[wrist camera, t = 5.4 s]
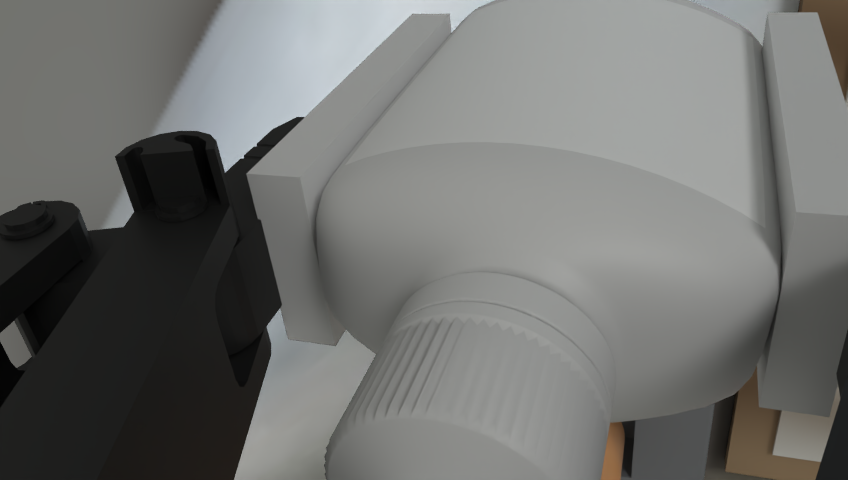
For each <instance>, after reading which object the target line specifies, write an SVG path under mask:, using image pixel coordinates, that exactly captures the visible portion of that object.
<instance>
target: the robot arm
mask: <svg viewBox="0 0 848 480" xmlns="http://www.w3.org/2000/svg"><path fill="white" fill-rule="evenodd" d="M450 35H451V24H450V14H412V15H411V16H410V17H409V18H408V19H407V20H406V21H405V22H403V23H402V24H401V25H400V26H399V27H398V28H397V29H396V30H395V31H394V32H393V33H392V34H391V35H390V36H389V37H388V38H387V39H386V40H385V41H384V42H383V43H382V44H381V45H380V46H379V47H377V48H376V49H375V50H374V51H373V52H372V53H371V54H370V55H369V56H368V57H367V58H366V59H365V60H364V61H363V62H362V63H361V64H360V65H359V66H358V67H357V68H356V69H355V70H354V71H353V72H351V73H350V74H349V75H348V76H347V77H346V78H345V79H344V80H343V81H342V82H341V83H340V84H339V85H338V86H337V87H336V88H335V89H334V90H333V91H332V92H331V93H330V94H329V95H328V96H327V97H326V98H324V99H323V100H322V101H321V102H320V103H319V104H318V105H317V106H316V107H315V108H314V109H313V110H312V111H311V112H310V113H309V114H308V115H307V116H306V117H296V118H294V119H292V120H290V121H288V122H286V123H284V124H282V125H280V126H278V127H276V128H274V129H272V130H271V131H270V132H269V133H268V134H267V135H266V136H265V137H264V138H263V139H262V140H261V141H259V142H258V143H257V147H253V148H252V149H251V150H250V151H249V152H247V153H246V154H245V155H244V159H240V160H239V161H238V162H237V163H236V164H234V165H233V166H232V167H231V168H230V169H229V170H228V171H227V172H226V173H225V172H224V168H223V164H222V161H221V157H220V153H219V149H218V146H217V142H216V140H215V139H214V138H213V137H212V136H211V135H210V134H206V133H202V132H199V131H177V132H171V133H164V134H159V135H156V136H153V137H150V138H146V139H143V140H141V141H139V142H136V143H135V144H132V145H130V146H128V147H126V148H125V149H124V150H122V151H121V152H120V153H119V154H118V155H116V156H115V158H116V161H117V164H118V167H119V170H120V172H121V175H122V178H123V181H124V184H125V187H126V189H127V192H128V195H129V198H130V201H131V204H132V206H133V209H134V213H133V214H132V216H131V217H130V219H129V220H128V222H127V223H126V225H125V226H124V227H121V228H111V229H102V230H92V231H88V230H87V228H86V225H85V223H84V220H83V218H82V215H81V213H80V210H79V209H78V208H77V207H76V206H75V205H74V204H73V203H68V202H64V201H36V202H33V204H31V203H27V204H23V205H20V206H18V207H17V208H16V209H15V210H12V211H9V212H7V213H5V214H3V215H1V216H0V332H2V331H3V330H4V329H5V328H6V327H7V326H8V325H10V324H11V323H12V322H13V321H15V323H16V325H17V327H18V329H19V331H20V333H21V335H22V337H23V339H24V341H25V343H26V345H27V347H28V349H29V351H30V353H31V355H32V357H31V358H30V359H29V360H28V361H27V362H26V363H25V364H23V365H21V366H20V367H18V368H16V367H15V366H14V365H13V364H12V363H11V362H10V360H9V358H8V356H7V354H6V352H5V350H4V348H3V346H2V344H1V342H0V480H234V477H235V474H236V471H237V467H238V464H239V461H240V457H241V454H242V450H243V447H244V444H245V440H246V437H247V434H248V430H249V427H250V424H251V420H252V417H253V414H254V410H255V407H256V404H257V400H258V397H259V393H260V390H261V387H262V383H263V380H264V377H265V373H266V370H267V367H268V363H269V360H270V357H271V342H270V338H269V335H268V331H267V327H266V326H267V325H268V323H269V322H270V321H271V319H272V318H273V317H274V315H275V314H276V313H277V311H278V310H279V309H281V313H282V317H283V321H284V325H285V328H286V332H287V336H288V339H290V340H297V341H304V342H311V343H318V344H325V345H332V346H336V345H337V343H338V341H339V340H340V338H341V336H342V335H343V333H344V332H345V330H346V329H345V328H344V327H343V326H342V325H341V324H340V323H339V322H338V321H337V319H336V318H335V317H334V315H333V313H332V311H331V309H330V307H329V305H328V303H327V301H326V299H325V297H324V292H323V287H322V283H321V277H320V270H319V262H318V251H317V232H316V217H317V212H318V208H319V204H320V200H321V197H322V193H323V191H324V189H325V187H326V185H327V183H328V182H329V180H330V178H331V176H332V175H333V174H334V173H335V171H336V170H337V169H338V168H339V166H340V165H341V164H342V162H343V161H344V160H345V159H346V157H347V156H348V155H349V154H350V152H351V151H352V150H353V148H354V147H355V146H356V145H357V143H358V142H359V141H360V140H361V138H362V137H363V136H364V135H365V134H366V133H367V131H368V130H369V129H370V128H371V127H372V125H373V124H374V123H375V122H376V121H377V120H378V118H379V117H380V116H381V115H382V114H383V113H384V111H385V110H386V109H387V108H388V107H389V105H390V104H391V103H392V102H393V101H394V100H395V98H396V97H397V96H398V95H399V94H400V92H401V91H402V90H403V89H404V88H405V87H406V85H407V84H408V83H409V82H410V81H411V80H412V78H413V77H414V76H415V75H416V74H417V73H418V71H419V70H420V69H421V68H422V67H423V66H424V65H425V63H426V62H427V61H428V60H429V59H430V58H431V56H432V55H433V54H434V53H435V52H436V51H437V50H438V48H439V47H440V46H441V45H442V44H443V43H444V41H445V40H446V39H447V38H448V37H449V36H450ZM762 56H763V65H764V74H765V83H766V92H767V102H768V111H769V120H770V129H771V138H772V148H773V157H774V167H775V176H776V186H777V195H778V206H779V220H780V236H781V251H782V257H781V288H780V293H779V298H778V303H777V308H776V311H775V315H774V318H773V321H772V324H771V328H770V331H769V334H768V337H767V340H766V343H765V346H764V349H763V352H762V354H761V356H760V359H759V361H758V364H757V377H758V397H759V407H762V408H768V409H775V410H782V411H789V412H796V413H803V414H810V415H817V416H824V417H829V416H830V413H831V409H832V405H833V401H834V397H835V394H836V390H837V386H838V387H839V393H840V402H839V405H838V408H837V412H836V415H835V418H834V421H833V424H832V428H831V431H830V434H829V437H828V441H827V444H826V447H825V450H824V453H823V457H822V460H821V463H820V466H819V470H818V473H817V476H816V479H815V480H848V109H847V106H846V103H845V99H844V96H843V93H842V90H841V86H840V83H839V80H838V77H837V74H836V70H835V67H834V64H833V61H832V58H831V54H830V51H829V48H828V45H827V42H826V38H825V35H824V32H823V29H822V26H821V22H820V19H819V16H818V13H817V12H789V13H767V20H766V27H765V33H764V40H763V47H762Z"/></svg>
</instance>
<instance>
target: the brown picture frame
mask: <svg viewBox="0 0 848 480" xmlns="http://www.w3.org/2000/svg"><path fill="white" fill-rule="evenodd" d="M798 12H817V13H818V16H819V19H820V22H821V26H822V29H823V32H824V35H825V38H826V42H827V45H828V48H829V51H830V54H831V58H832V61H833V64H834V67H835V70H836V74H837V77H838V80H839V83H840V86H841V90H842V93H843V96H844V99H845V103H846V106H847V109H848V0H800V3H799V9H798ZM839 402H840V393H839V387H838V386H837V390H836V394H835V397H834V401H833V405H832V409H831V413H830V416H829V417H824V416H817V415H810V414H803V413H796V412H789V411H782V410H775V409H768V408H762V407H759V397H758V377H757V366H756V368H755V371H754V373H753V375H752V377H751V378H750V379H749V380H748V381H747V382H746V383H745V384H744V385H743V386H742V387H741V389H740V390H739V391H737V392H736V395H735V401H734V407H733V414H732V420H731V426H730V432H729V438H728V444H727V450H726V456H725V472H731V473H737V474H744V475H750V476H757V477H763V478H770V479H776V480H815V479H816V476H817V473H818V470H819V466H820V463H821V460H822V457H823V453H824V450H825V447H826V444H827V441H828V437H829V434H830V431H831V428H832V424H833V421H834V418H835V415H836V412H837V408H838V405H839Z"/></svg>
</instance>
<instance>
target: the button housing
mask: <svg viewBox="0 0 848 480" xmlns="http://www.w3.org/2000/svg"><path fill="white" fill-rule="evenodd" d="M714 406H715V403H713V404H711V405H709V406H706V407H703V408H698V409H694V410H689V411H685V412H681V413H677V414H673V415H667V416H660V417H654V418H647V419H640V420H632V421H623V422H621V423H622V425H623V428H624V432H625V443H624V452H623V462H622V471H621V480H704V475H705V468H706V461H707V454H708V447H709V440H710V433H711V426H712V419H713V413H714Z"/></svg>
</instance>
